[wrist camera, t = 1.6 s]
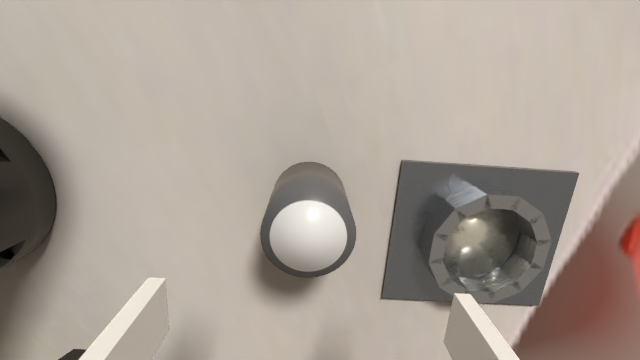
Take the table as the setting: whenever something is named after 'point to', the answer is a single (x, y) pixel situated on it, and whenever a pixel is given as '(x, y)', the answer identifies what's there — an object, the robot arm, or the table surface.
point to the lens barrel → (308, 222)
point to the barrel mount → (475, 231)
